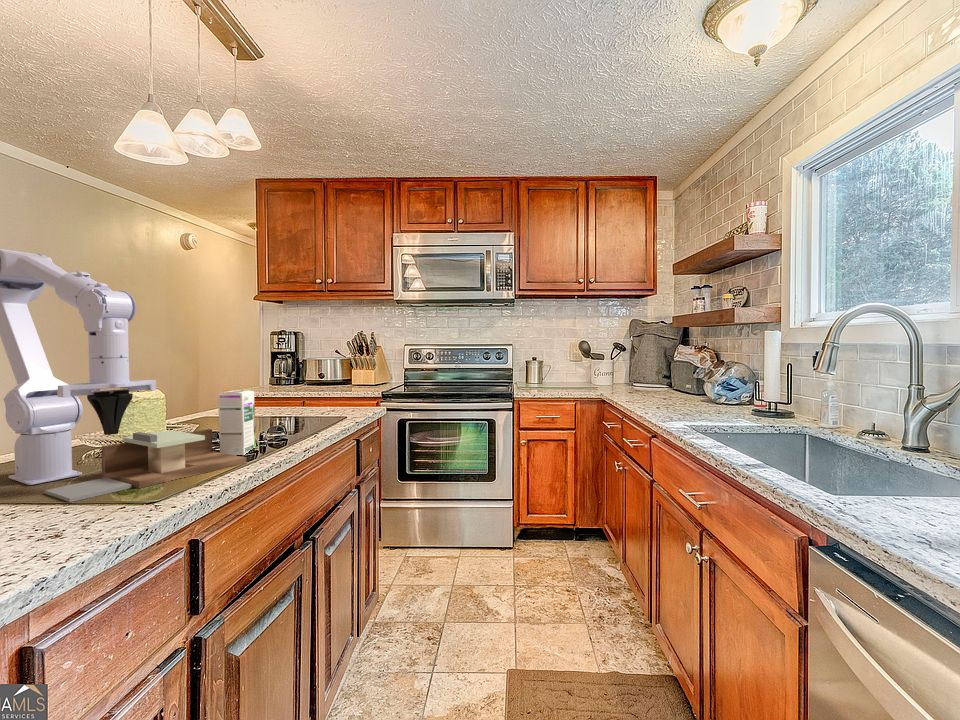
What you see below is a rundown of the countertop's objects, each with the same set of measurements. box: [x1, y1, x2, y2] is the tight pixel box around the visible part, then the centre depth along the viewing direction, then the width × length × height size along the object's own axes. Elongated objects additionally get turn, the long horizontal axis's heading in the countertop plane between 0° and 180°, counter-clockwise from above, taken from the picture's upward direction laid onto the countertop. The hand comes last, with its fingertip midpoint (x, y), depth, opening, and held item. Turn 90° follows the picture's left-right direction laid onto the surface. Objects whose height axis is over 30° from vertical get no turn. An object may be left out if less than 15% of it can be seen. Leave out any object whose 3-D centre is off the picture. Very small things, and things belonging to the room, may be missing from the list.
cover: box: [122, 429, 205, 448], centre depth 97 cm, size 12×9×2 cm
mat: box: [44, 477, 132, 503], centre depth 85 cm, size 9×9×1 cm
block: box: [148, 443, 185, 474], centre depth 97 cm, size 4×4×6 cm
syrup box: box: [217, 389, 257, 456], centre depth 114 cm, size 6×6×14 cm
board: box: [100, 428, 247, 489], centre depth 99 cm, size 13×21×6 cm, turn 151°
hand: (111, 433), depth 88 cm, fingers closed
